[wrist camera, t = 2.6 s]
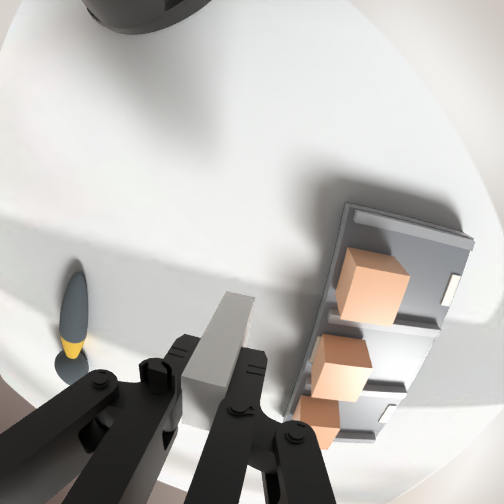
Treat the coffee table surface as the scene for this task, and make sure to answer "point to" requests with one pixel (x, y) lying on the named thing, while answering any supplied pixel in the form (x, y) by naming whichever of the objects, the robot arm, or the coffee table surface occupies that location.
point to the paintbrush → (73, 331)
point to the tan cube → (319, 418)
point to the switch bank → (406, 321)
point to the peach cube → (340, 368)
